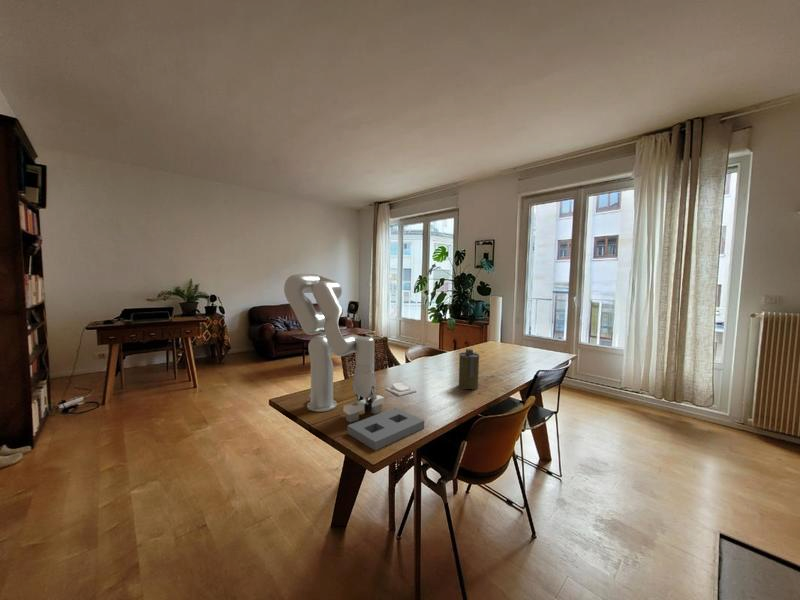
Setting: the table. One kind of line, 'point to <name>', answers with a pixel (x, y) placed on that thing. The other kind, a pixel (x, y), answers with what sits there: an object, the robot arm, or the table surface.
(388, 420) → the mounting board
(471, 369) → the canister
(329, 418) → the table surface
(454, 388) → the table surface
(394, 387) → the light switch
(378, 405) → the off-white connector bar
